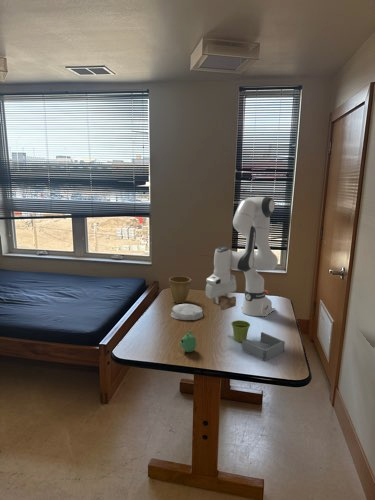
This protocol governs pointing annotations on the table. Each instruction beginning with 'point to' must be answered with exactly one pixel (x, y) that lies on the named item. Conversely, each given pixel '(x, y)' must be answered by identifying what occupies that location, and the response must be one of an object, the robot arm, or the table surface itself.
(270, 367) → the table surface
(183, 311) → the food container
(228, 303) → the wooden angled block
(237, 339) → the plant pot
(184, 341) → the alien toy
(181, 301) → the plant pot
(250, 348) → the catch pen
